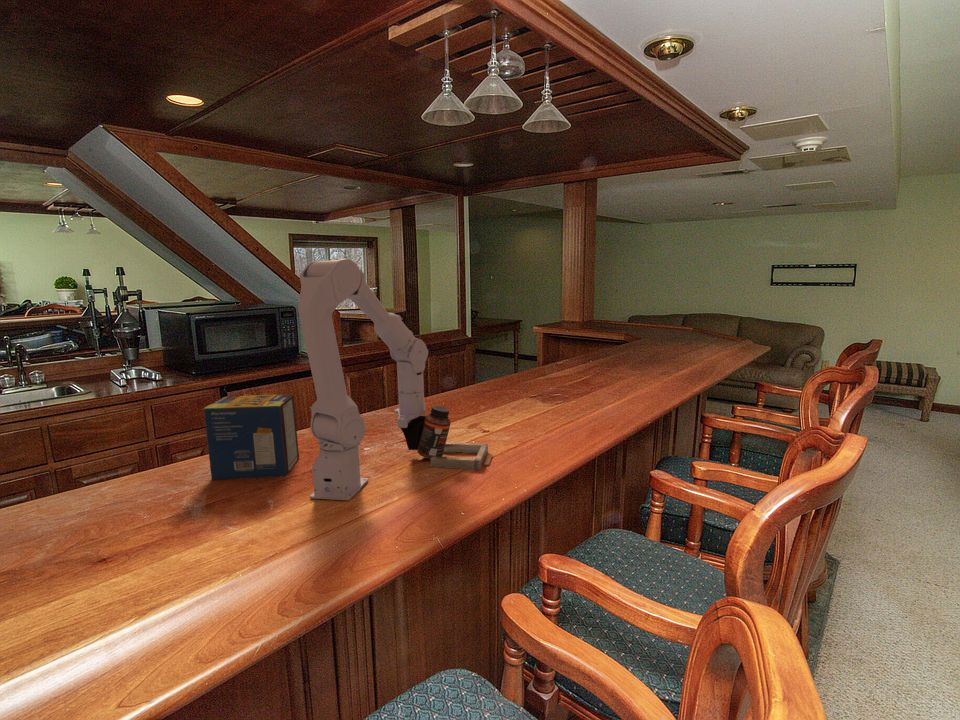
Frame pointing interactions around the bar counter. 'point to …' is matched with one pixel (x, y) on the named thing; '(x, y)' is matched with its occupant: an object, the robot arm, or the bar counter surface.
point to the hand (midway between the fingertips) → (413, 448)
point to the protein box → (251, 436)
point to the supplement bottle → (434, 433)
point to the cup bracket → (463, 462)
